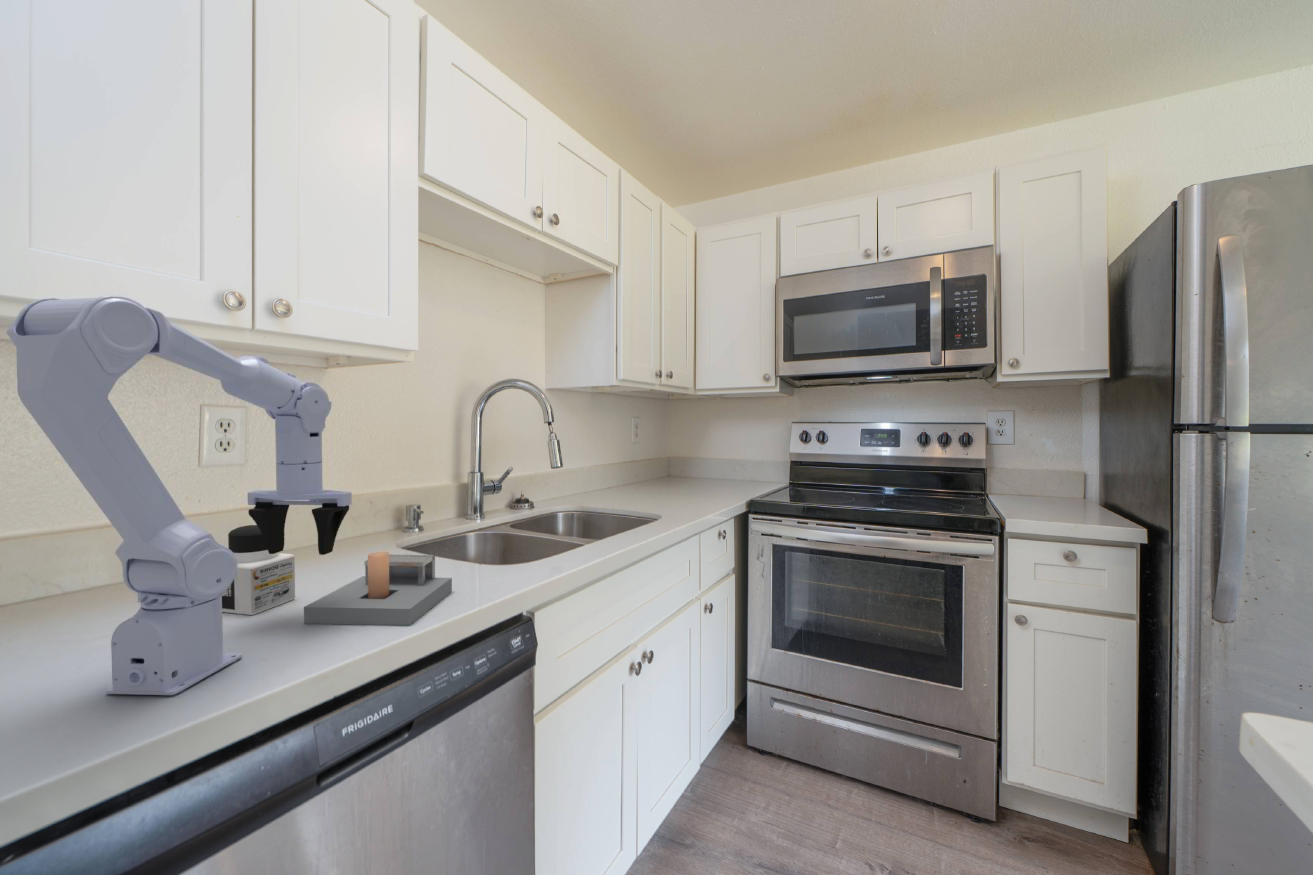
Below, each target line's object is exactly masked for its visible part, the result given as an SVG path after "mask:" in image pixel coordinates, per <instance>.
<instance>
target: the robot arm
mask: <svg viewBox="0 0 1313 875" xmlns="http://www.w3.org/2000/svg"><path fill="white" fill-rule="evenodd" d="M6 334H7V335H8V337H9V339H10V340H11V341H12V344H14V346H15V348H16V379H17V380H16V381H17V382H16V383H17V387H16V388H17V396H18V397H19V399H20V402H21V403H22V405H23V406H24V407H25V409H26V410H27V411H28V413H29V414H30V416H32V418H33V419H34V421H35V422H36V423H37V425H38V426H39V428H40V429H41V430H42V432H43V433H44V434H45V436H46V437H47V438H48V439H49V441H50V442H51V444H52V445H53V447H54V448H55V449H56V450H57V452H58V453H59V455H60V456H61V457H62V459H63V460H64V461H65V463H66V464H67V465H68V467H69V468H70V470H72V472H73V473H74V475H75V476H76V478H77V479H78V480H79V482H80V483H81V485H82V486H83V488H84V489H85V490H86V491H87V492H88V494H89V495H90V497H91V498H92V499H93V500H94V502H95V503H96V504H97V506H98V507H99V509H100V510H101V511H102V513H103V514H104V516H105V517H106V518H107V519H108V521H109V523H110V524H111V525H112V526H113V528H114V529H115V531H117V533H118V535H120V537H121V538H122V540H123V541H122V543H121V544H120V545H119V546H118V547H117V549H116V550H115V552H114V553H115V555H116V557H117V558H118V559H119V560H120V563H121V567H122V578H123V582H124V584H125V586H126V587H127V588H128V589H129V590H130V591H132V592H134V593H136V594H137V603H140V604H139V605H140V607H139V609H138V610H137V612H136V613H134V614H133V615H132V616H131V617H129V618H128V619H125V620H124V621H122V622H121V623H119V624H118V626H117V627H116V628H115V629H114V631H113V633H112V636H111V640H110V641H111V643H110V647H111V648H110V649H111V650H110V651H111V676H112V680H111V681H112V685H111V686H110V687H108V688H106V689H105V694H106V695H140V696H141V695H144V696H145V695H146V696H150V695H151V696H174V695H177V694H178V693H181V692H182V691H184V690H187V689H188V688H189V687H191V686H193V685H194V684H197V683H198V682H200V681H202V680H203V679H206V678H207V677H209V676H211V675H212V674H214V673H216V672H218V671H220V670H222V669H223V668H224V667H228V666H229V665H230V664H232V663H234V662H235V661H237V660H239V659H241V658H242V657H243V653H242V652H224V639H223V638H224V637H223V635H224V633H223V612H222V596H224V595H226V591H225V590H226V589H227V588H228V587H229V586H230V585H231V583H232V582H233V580H234V578H235V576H236V573H237V559H236V556H235V555H234V553H233V552H232V551H231V550H230V549H229V547H227V546H224V545H221V544H220V543H219V542H218V541H217V540H216V539H215V537H214V536H213V534H212V533H211V532H210V531H208V530H206V529H204V528H203V527H201V526H199V525H197V524H195V523H194V522H193V521H190V520H189V519H188V518H186V516H185V515H184V514H183V512H182V510H181V509H180V507H179V506H178V505H177V503H176V501H175V499H174V498H173V497H172V495H171V494H170V492H169V491H168V489H167V488H166V486H165V485H164V483H163V481H162V479H161V478H160V477H159V475H158V474H157V472H156V471H155V469H154V467H153V465H151V463H150V461H149V459H148V458H147V457H146V455H145V454H144V452H143V451H142V449H141V448H140V446H139V444H138V443H137V441H136V440H135V438H134V437H133V435H132V434H131V432H130V431H129V429H128V428H127V426H126V424H125V423H124V422H123V420H122V418H121V417H120V415H119V414H118V412H117V411H116V409H115V407H114V406H113V404H112V403H111V401H110V400H109V395H110V392H111V391H112V389H113V388H114V386H115V385H116V383H117V382H118V380H119V379H120V378H121V377H123V376H124V375H125V373H127V372H128V371H129V370H130V369H132V368H133V367H134V366H135V365H136V364H137V363H139V362H140V361H141V360H142V359H143V358H145V357H146V356H147V355H152V356H154V357H158V358H161V359H163V360H165V361H168V362H171V363H173V364H177V365H179V366H182V367H184V368H186V369H189V370H191V371H192V370H193V371H195V372H198V373H199V374H202V375H205V376H208V377H210V378H213V379H215V380H218V381H220V386H221V388H222V390H223V391H224V393H226V394H228V395H230V396H232V397H234V398H237V399H239V400H241V401H244V402H247V403H249V404H252V405H254V406H256V407H259V408H261V409H263V410H265V413H266V414H267V415H268V417H269V418H270V419H272V420H274V426H275V428H274V430H275V434H274V435H275V474H276V476H275V479H276V480H275V481H276V482H275V484H276V489H275V490H266V489H265V490H253V491H247V506H254V508H250V509H248V515H249V516H250V518H251V519H252V520H253V521H254V523H255V525H257V526H258V527H259V529H260V531H261V533H262V535H263V538H264V540H265V543H266V546H267V549H268V552H269V554H275V553H281V552H283V551H284V547H285V527H286V526H285V525H286V519H287V515H288V511H289V508H290V505H291V506H293V505H294V506H297V505H298V506H319V507H316V508H313V509H312V508H311V514H312V516H313V519H314V522H315V527H316V530H317V531H316V532H317V548H318V549H317V550H318V553H319V554H318V555H319V556H320V555H321V556H324V555H325V556H326V555H327V554H329V553H332V552H333V549H334V546H335V541H336V538H337V535H338V531H339V530H340V527H341V525H342V523H343V521H344V518H345V517H346V515H347V513H348V512H349V510H350V505H352V504H353V503H352V496H353V495H352V494H353V493H352V491H340V490H331V489H330V490H329V489H324V488H323V441H322V440H323V438H322V437H323V436H322V435H323V432H324V430H325V429H326V419H327V417H328V416H329V414H330V412H331V410H332V401H330V400H329V399H330V398H329V395H328V393H327V391H326V390H325V389H324V388H322V387H321V386H320V385H318V384H317V383H314V382H301V381H300V380H299V379H298V378H297V376H296V375H295V374H293V373H292V372H284V371H282V370H280V369H277V368H276V367H274V366H271V365H270V364H268V362H269V360H268V359H267V358H265V357H264V356H260V355H259V356H258V355H253V356H252V355H243V356H239V357H234V356H232V355H231V354H230V353H227V352H226V351H223V350H222V349H221V348H219V347H217V346H214V345H213V344H211V343H209V342H208V341H205V340H204V339H202V338H200V337H198V336H196V335H195V334H193V333H191V332H189V331H188V330H186V329H184V328H183V327H180V326H178V325H176V324H175V323H174V322H171V321H170V320H169V319H168V318H167V317H166V316H165V315H164V313H162V312H161V311H158V310H156V309H154V308H150V307H145V306H144V305H142V304H141V303H139V302H138V301H136V300H134V299H132V298H129V297H127V296H122V295H115V294H114V295H109V294H108V295H102V296H98V297H85V298H81V297H80V298H65V299H64V298H63V299H61V298H54V297H52V298H40V299H37V300H35V301H32V302H30V303H28V304H27V305H25V306H24V307H23V308H22V309H21V310H20V312H19V313H18V314H17V316H16V317H15V319H14V320H13V322H12V323H11V324H10V325H9V327H8V328H7V330H6Z"/></svg>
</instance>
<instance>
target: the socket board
mask: <svg viewBox="0 0 1313 875" xmlns="http://www.w3.org/2000/svg"><path fill="white" fill-rule="evenodd" d="M452 592H453V579H452V577H435V578H434V579H425V584H424V585H423V586H421V585H418V579H389V597H387V598H386V599H368V585H366V579H365V575H364V576H361V577H358V578H356V579H354V580H353V581H351V582H349V583H346V585H343V586H341V587H339V588H338V589H336V590H333V591H331V592H330V593H328V594H326V595H325V596H324V595H323V596H322V597H320V598H318V599H316V600H315V601H313V602H311V603H309V604H307V605H305V606H304V607H303V624H307V625H311V624H312V625H314V624H315V625H320V624H321V625H360V626H361V625H363V626H367V625H368V626H369V625H370V626H373V625H374V626H411V625H412V624H413V623H415V622H416V621H417V620H418V619H420V618H422V616H424V615H425V614H426V613H427V612H429V611H430V610H431V609H432V608H433V607H435V606H436V605H437V604H438V603H440V602H441V601H442V600H443V599H445V598H446V597H447V596H448V595H450V594H451V593H452Z"/></svg>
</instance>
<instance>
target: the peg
mask: <svg viewBox="0 0 1313 875" xmlns="http://www.w3.org/2000/svg"><path fill="white" fill-rule="evenodd" d="M389 554H390V552H387V551H377V552H372V553H369V554H367V560H368V599H386V598H387V597H389Z"/></svg>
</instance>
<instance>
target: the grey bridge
mask: <svg viewBox="0 0 1313 875" xmlns="http://www.w3.org/2000/svg"><path fill="white" fill-rule="evenodd" d="M363 563H364V564H363V565H364V566H365V568H364V569H365V572H364V573H365V574H364V576H365V579H366V585H368V559H366V560H364V562H363ZM434 578H436V555H435V554H390V553H389V579H418V585H421V586H423V585H424V584H425V579H434Z"/></svg>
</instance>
